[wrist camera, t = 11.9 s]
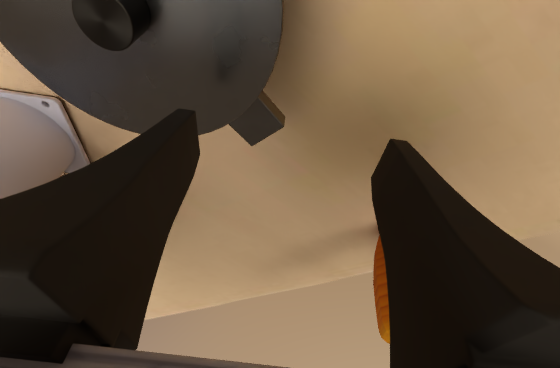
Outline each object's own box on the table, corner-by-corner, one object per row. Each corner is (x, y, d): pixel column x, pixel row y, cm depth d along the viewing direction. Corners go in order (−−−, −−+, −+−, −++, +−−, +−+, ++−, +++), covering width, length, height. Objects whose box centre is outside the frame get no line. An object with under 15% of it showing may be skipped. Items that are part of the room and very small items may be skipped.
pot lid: (167, 159, 18) (152, 189, 16) (-86, -35, 11) (-160, -20, 9) (343, 33, 12) (349, 59, 10) (26, -514, 5) (-109, -703, 4)
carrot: (356, 216, 29) (381, 397, 19) (408, 204, 28) (466, 398, 17) (369, 241, 32) (397, 409, 22) (416, 232, 31) (471, 411, 20)
